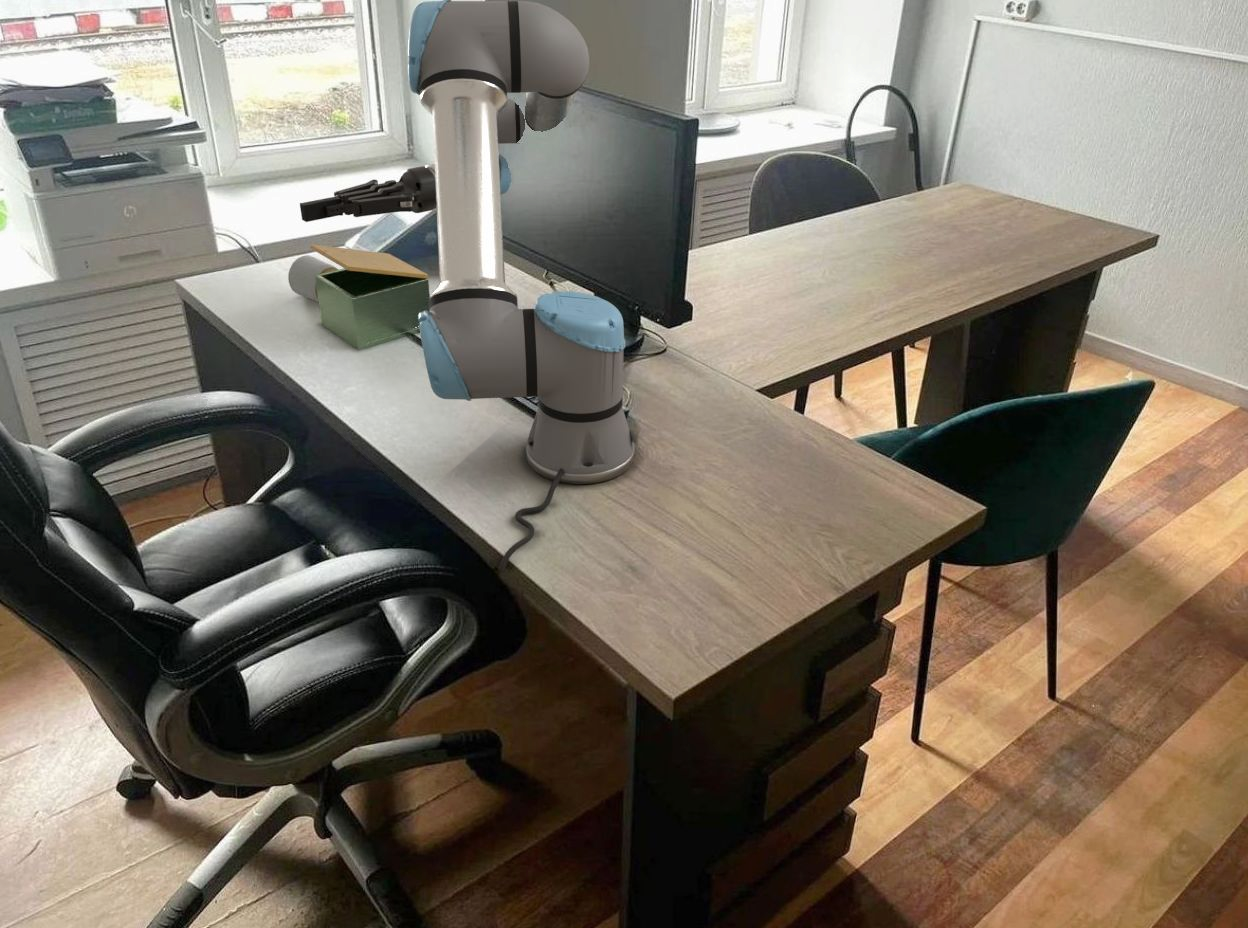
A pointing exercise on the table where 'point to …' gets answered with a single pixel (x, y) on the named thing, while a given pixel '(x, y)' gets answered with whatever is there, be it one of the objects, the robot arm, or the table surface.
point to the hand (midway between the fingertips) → (303, 212)
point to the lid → (368, 261)
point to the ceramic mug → (307, 275)
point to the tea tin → (371, 305)
